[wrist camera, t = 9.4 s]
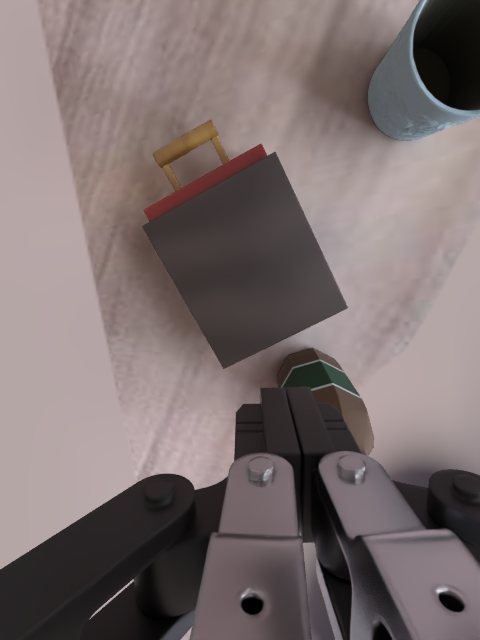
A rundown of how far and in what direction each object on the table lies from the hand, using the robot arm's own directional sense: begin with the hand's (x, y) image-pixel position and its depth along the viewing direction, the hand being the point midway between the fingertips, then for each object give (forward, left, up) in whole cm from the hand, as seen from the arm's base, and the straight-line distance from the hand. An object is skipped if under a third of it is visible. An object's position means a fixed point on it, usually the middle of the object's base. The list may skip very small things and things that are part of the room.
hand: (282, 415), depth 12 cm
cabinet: (-2, 0, -32) cm, 32 cm away
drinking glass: (-9, +22, -33) cm, 40 cm away
